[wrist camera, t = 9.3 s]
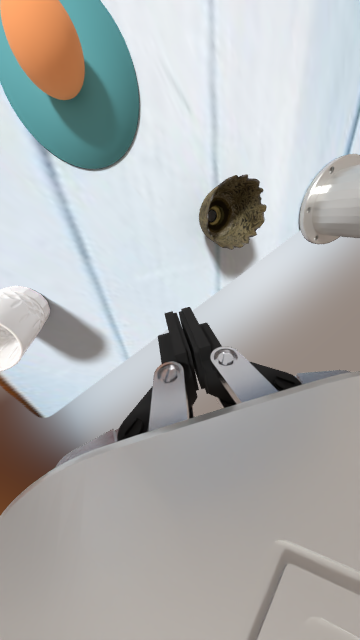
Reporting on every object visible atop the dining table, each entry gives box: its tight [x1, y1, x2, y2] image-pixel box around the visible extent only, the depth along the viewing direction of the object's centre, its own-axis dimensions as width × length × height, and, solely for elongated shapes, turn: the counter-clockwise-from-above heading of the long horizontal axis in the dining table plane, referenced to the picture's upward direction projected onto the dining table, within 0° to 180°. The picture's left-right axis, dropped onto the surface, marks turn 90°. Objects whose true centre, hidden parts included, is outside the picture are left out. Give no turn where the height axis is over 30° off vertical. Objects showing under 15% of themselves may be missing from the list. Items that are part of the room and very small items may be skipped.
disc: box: [0, 0, 139, 169], centre depth 18 cm, size 13×13×1 cm
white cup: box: [0, 286, 50, 371], centre depth 23 cm, size 8×8×10 cm
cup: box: [199, 175, 266, 250], centre depth 24 cm, size 8×7×8 cm
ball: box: [0, 0, 85, 100], centre depth 15 cm, size 6×6×6 cm
